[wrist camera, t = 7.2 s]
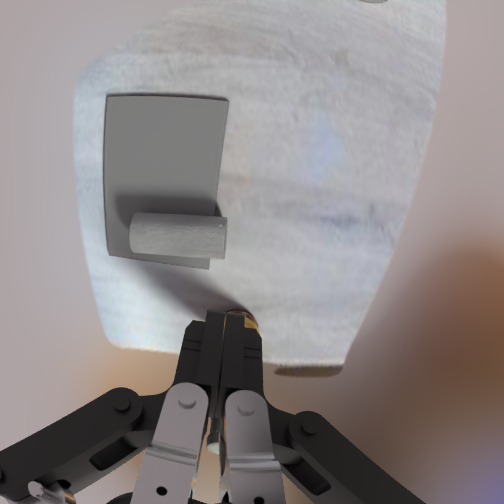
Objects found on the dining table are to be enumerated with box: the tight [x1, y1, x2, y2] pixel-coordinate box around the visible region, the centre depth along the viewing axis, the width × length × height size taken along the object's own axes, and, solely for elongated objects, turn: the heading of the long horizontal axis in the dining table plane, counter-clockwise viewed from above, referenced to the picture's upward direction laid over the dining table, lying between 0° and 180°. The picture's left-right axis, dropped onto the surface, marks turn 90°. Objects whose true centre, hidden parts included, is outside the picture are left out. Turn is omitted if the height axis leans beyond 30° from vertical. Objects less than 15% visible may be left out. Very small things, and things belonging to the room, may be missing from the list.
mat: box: [104, 96, 229, 270], centre depth 31 cm, size 20×14×1 cm
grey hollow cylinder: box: [129, 212, 227, 259], centre depth 31 cm, size 4×4×10 cm
